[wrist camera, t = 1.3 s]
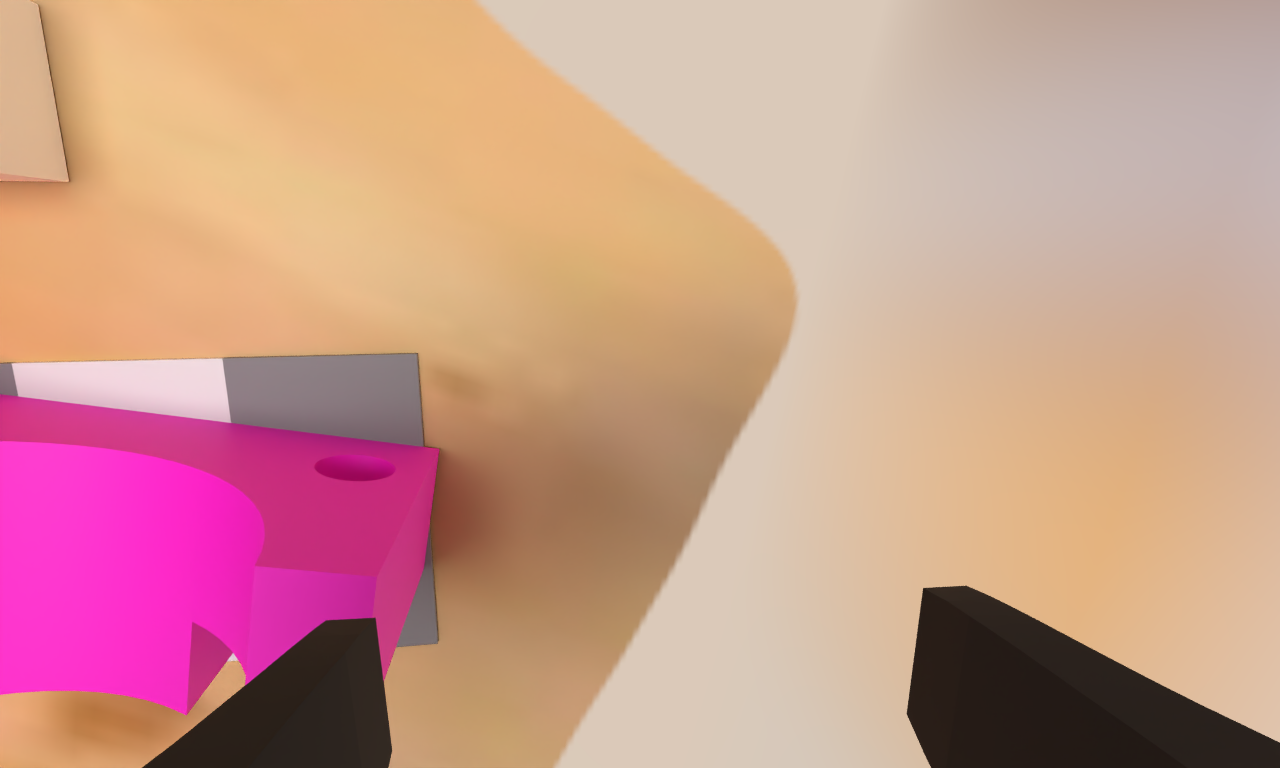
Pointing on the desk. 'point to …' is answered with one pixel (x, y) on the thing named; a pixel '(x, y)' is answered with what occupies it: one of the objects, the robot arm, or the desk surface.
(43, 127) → the die
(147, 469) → the toy block
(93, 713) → the desk surface
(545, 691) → the desk surface
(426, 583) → the board
